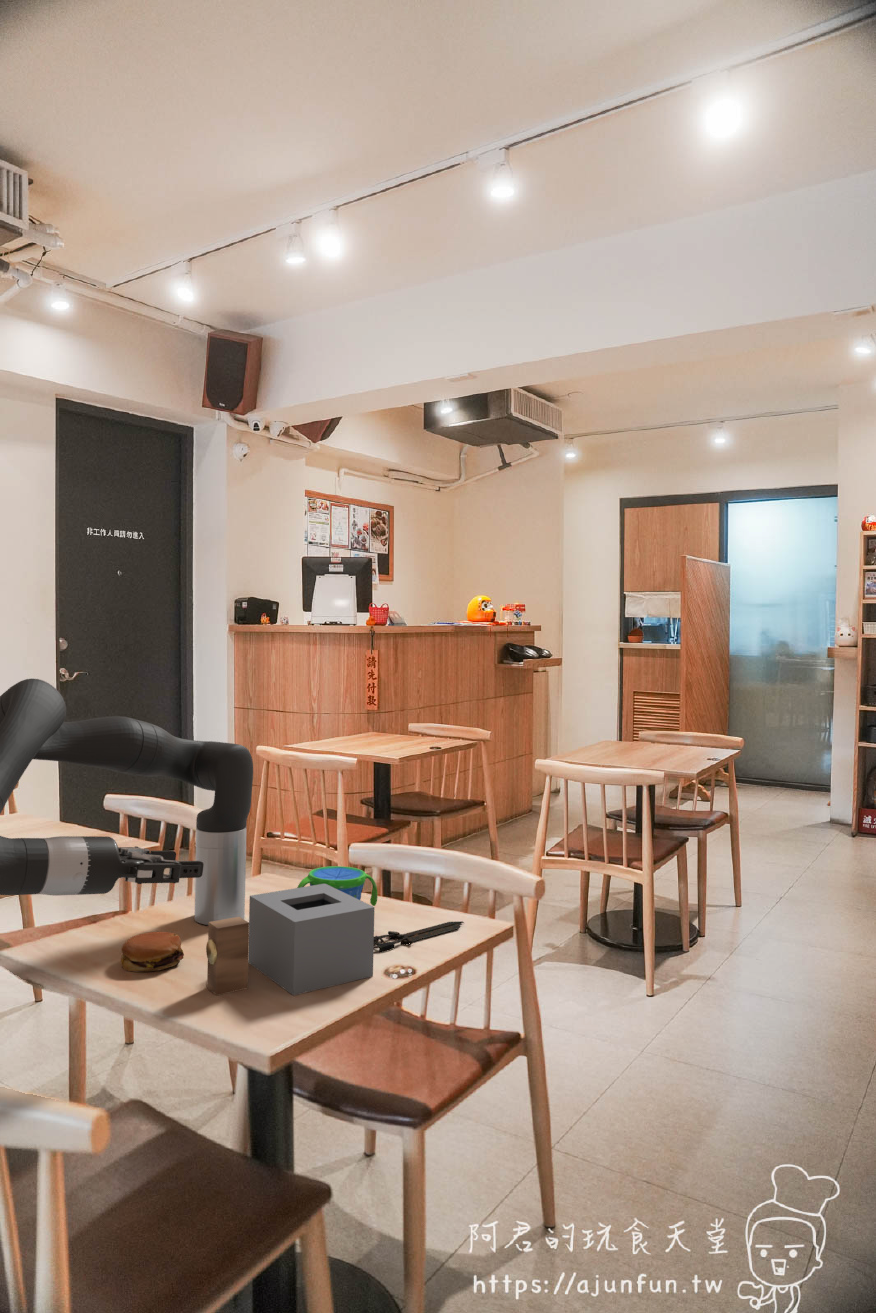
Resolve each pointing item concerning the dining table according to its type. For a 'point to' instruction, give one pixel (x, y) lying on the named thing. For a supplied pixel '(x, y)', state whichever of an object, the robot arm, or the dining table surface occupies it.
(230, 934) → the brown rectangular block
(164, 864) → the robot arm
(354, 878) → the snack cup
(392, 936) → the knife
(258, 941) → the tissue box
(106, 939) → the dining table surface
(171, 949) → the burger
